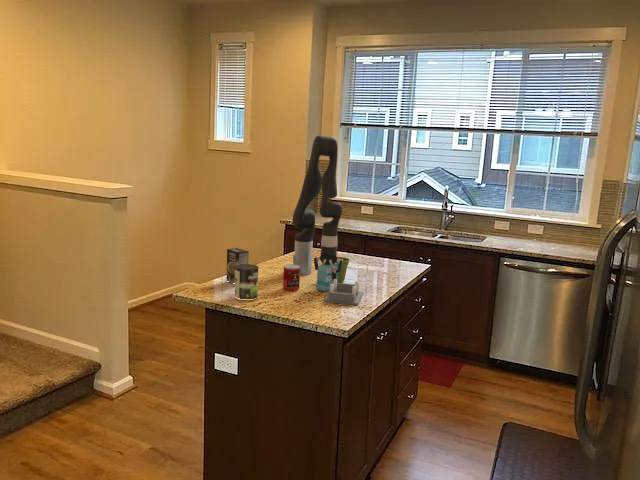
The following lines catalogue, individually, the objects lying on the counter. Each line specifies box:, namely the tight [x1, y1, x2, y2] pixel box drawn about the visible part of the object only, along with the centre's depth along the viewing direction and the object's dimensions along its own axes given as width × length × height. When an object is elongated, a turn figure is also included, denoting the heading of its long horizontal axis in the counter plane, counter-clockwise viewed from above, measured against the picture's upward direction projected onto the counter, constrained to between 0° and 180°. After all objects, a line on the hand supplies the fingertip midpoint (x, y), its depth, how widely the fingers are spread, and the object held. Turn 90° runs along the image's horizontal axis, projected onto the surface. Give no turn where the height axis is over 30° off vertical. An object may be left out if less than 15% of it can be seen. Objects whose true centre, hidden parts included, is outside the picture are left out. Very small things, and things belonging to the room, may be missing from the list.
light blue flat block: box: [316, 263, 338, 293], centre depth 262 cm, size 12×4×12 cm, turn 149°
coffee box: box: [225, 247, 250, 284], centre depth 264 cm, size 9×6×16 cm
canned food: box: [282, 263, 301, 292], centre depth 259 cm, size 8×8×11 cm
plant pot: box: [335, 256, 351, 283], centre depth 278 cm, size 12×12×11 cm
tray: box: [323, 279, 364, 306], centre depth 249 cm, size 15×18×7 cm
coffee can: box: [234, 263, 259, 299], centre depth 241 cm, size 10×10×14 cm
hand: (327, 279), depth 262 cm, fingers closed on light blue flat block, 5 cm apart
